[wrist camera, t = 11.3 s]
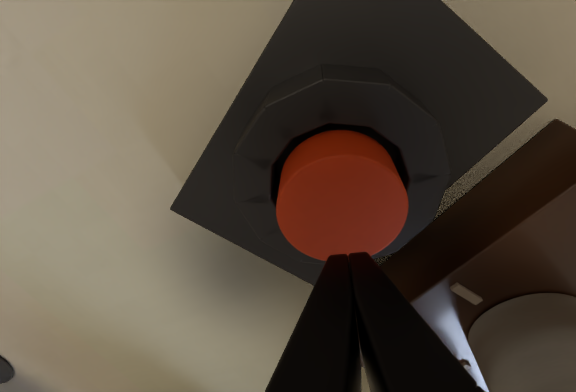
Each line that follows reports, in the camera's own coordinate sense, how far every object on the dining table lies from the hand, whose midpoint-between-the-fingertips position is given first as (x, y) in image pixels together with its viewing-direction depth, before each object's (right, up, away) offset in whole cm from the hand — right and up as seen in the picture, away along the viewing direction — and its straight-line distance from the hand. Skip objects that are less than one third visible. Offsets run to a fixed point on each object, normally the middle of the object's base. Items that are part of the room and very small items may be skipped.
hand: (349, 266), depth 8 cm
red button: (0, +2, +3) cm, 4 cm away
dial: (+9, -4, +7) cm, 12 cm away
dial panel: (+9, -2, +9) cm, 13 cm away
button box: (0, +4, +6) cm, 7 cm away
